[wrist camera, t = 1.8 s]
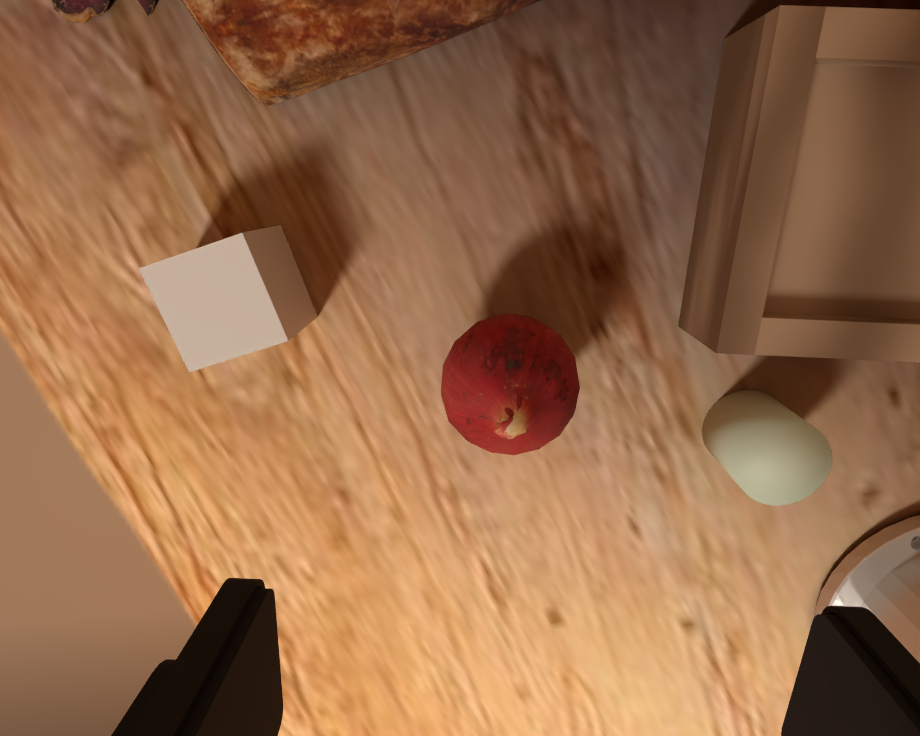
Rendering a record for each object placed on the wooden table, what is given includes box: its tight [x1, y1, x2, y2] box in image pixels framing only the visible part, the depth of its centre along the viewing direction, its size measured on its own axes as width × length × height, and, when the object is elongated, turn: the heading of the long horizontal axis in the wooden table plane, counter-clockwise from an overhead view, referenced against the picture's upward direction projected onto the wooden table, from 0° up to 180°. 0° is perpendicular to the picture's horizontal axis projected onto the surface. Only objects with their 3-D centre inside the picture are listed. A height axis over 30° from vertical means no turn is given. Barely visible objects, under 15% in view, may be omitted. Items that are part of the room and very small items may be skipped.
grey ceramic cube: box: [139, 225, 318, 372], centre depth 25 cm, size 4×4×4 cm
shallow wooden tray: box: [678, 5, 920, 362], centre depth 23 cm, size 12×12×4 cm
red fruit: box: [441, 313, 580, 455], centre depth 24 cm, size 6×6×8 cm
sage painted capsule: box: [702, 390, 832, 506], centre depth 26 cm, size 4×4×4 cm
